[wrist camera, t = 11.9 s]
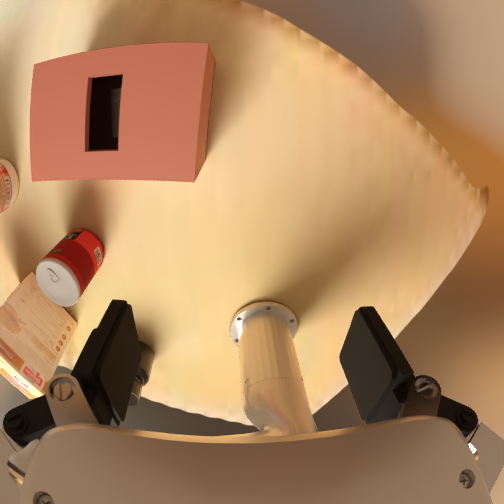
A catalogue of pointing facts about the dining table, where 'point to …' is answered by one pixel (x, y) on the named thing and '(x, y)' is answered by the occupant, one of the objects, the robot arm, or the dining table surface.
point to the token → (115, 110)
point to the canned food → (70, 267)
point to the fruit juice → (7, 184)
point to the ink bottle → (142, 373)
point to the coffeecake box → (32, 337)
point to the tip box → (122, 113)
